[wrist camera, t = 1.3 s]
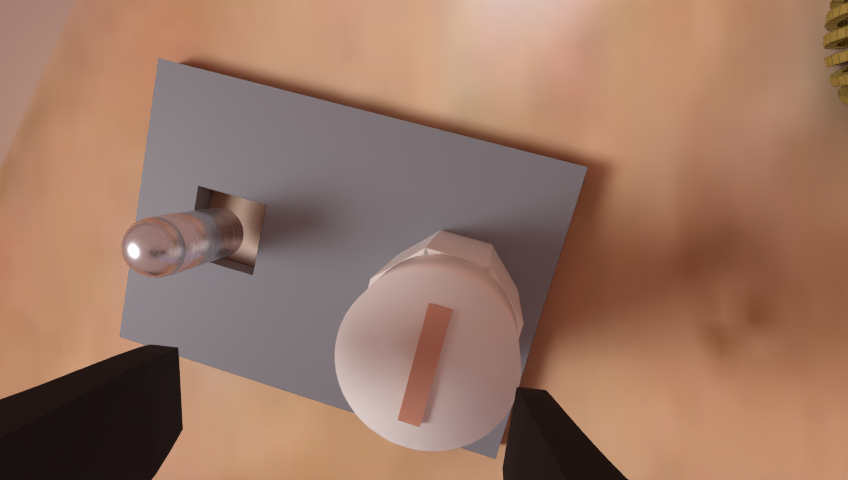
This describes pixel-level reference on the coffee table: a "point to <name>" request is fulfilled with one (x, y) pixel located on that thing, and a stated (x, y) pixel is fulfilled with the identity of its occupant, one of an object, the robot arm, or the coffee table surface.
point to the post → (181, 241)
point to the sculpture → (838, 44)
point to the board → (325, 222)
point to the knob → (433, 345)
